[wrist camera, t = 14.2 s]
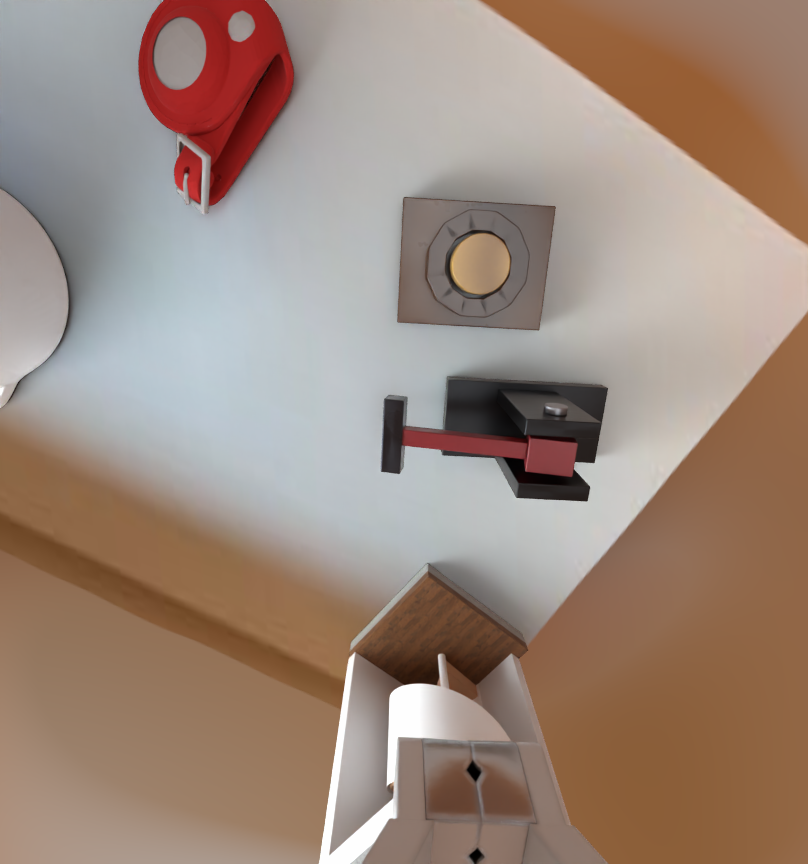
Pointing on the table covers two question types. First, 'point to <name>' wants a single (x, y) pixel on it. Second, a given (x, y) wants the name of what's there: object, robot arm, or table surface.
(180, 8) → the tracker holder
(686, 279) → the table surface
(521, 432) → the black lever base
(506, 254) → the bell button
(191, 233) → the table surface
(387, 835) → the robot arm
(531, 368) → the table surface
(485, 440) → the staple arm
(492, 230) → the block
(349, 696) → the display case
